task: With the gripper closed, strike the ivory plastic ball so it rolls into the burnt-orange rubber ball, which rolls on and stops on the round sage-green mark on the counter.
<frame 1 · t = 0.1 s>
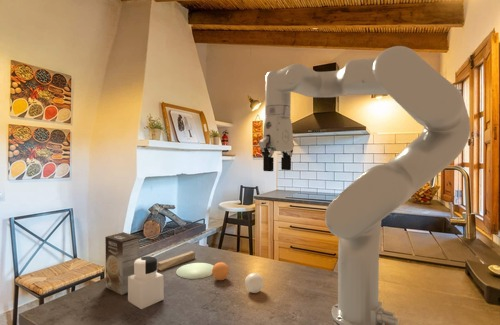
hand: (277, 170, 86), 37 cm above the kitchen counter, tool pointing down, fingers open, 9 cm apart
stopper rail: (177, 263, 109), on the kitchen counter
medicine bottle: (146, 301, 81), on the kitchen counter
cue ball: (254, 282, 86), on the kitchen counter
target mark: (196, 270, 102), on the kitchen counter
coffee box: (122, 288, 89), on the kitchen counter
object ball: (220, 271, 95), on the kitchen counter
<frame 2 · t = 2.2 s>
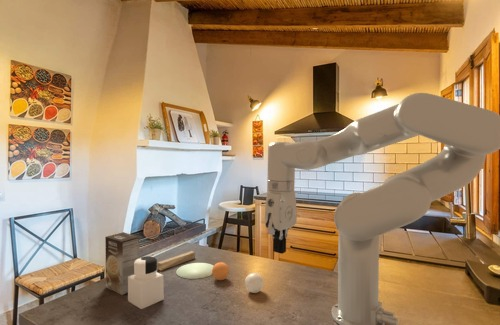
hand: (279, 251, 80), 14 cm above the kitchen counter, tool pointing down, fingers closed
nothing on the kitchen counter moved.
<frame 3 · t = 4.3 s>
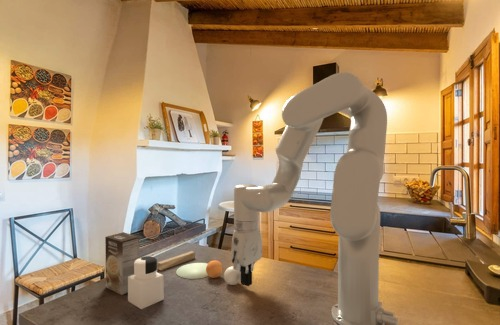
hand: (246, 284, 88), 2 cm above the kitchen counter, tool pointing down, fingers closed
cue ball: (232, 275, 91), on the kitchen counter
object ball: (214, 269, 96), on the kitchen counter
everything else where it was.
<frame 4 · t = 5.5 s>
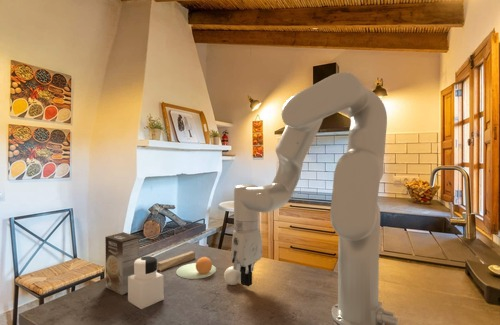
hand: (246, 284, 88), 2 cm above the kitchen counter, tool pointing down, fingers closed
object ball: (203, 265, 100), on the kitchen counter
everything else where it was.
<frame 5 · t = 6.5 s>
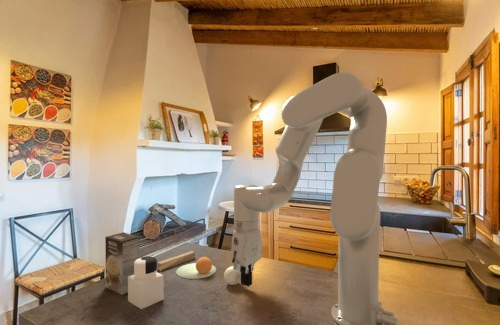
hand: (246, 284, 88), 2 cm above the kitchen counter, tool pointing down, fingers closed
nothing on the kitchen counter moved.
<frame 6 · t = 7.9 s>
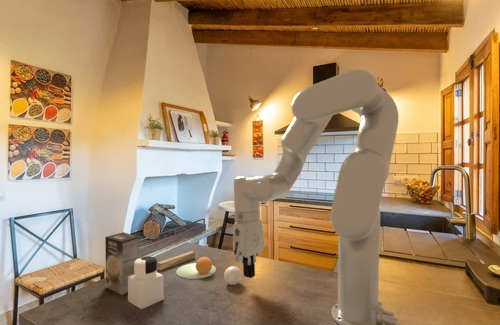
hand: (249, 276, 87), 4 cm above the kitchen counter, tool pointing down, fingers closed
nothing on the kitchen counter moved.
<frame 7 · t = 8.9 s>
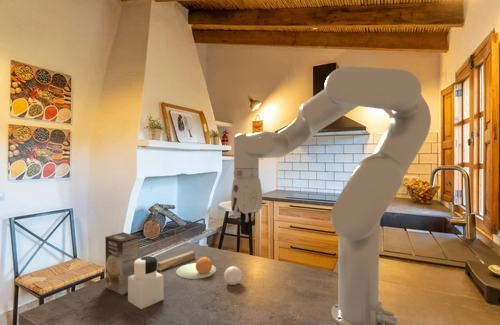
hand: (246, 233, 88), 17 cm above the kitchen counter, tool pointing down, fingers closed
nothing on the kitchen counter moved.
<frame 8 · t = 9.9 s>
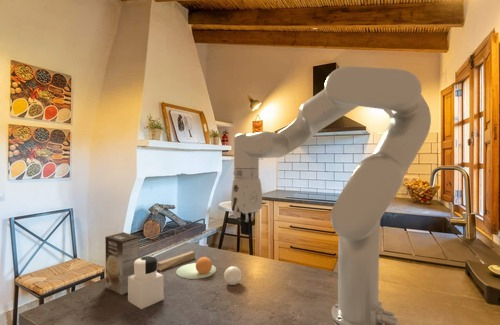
hand: (246, 233, 88), 17 cm above the kitchen counter, tool pointing down, fingers closed
nothing on the kitchen counter moved.
at the end: object ball 3.9 cm from the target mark (horizontally); object ball never touched the robot; cue ball first touched object ball at 4.0 s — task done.
